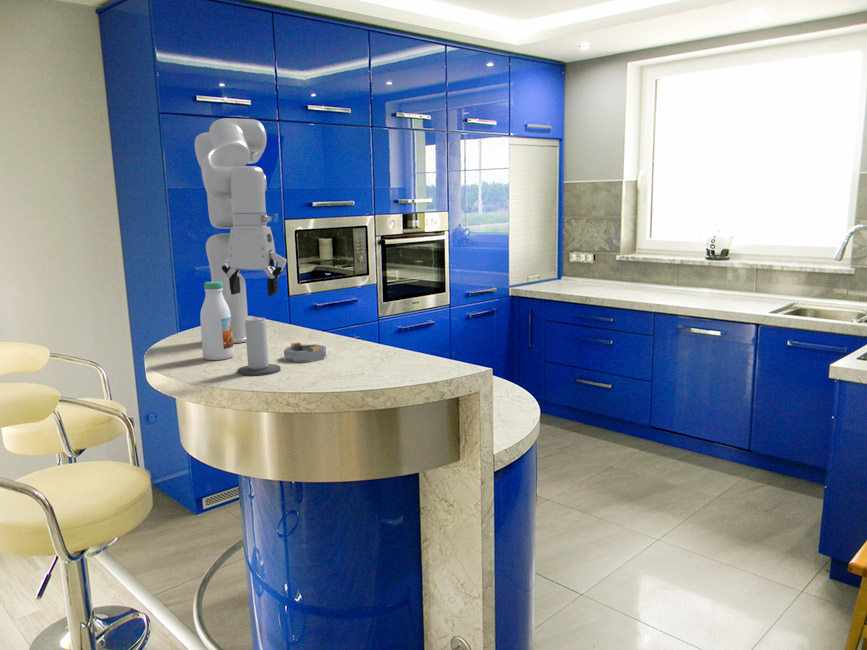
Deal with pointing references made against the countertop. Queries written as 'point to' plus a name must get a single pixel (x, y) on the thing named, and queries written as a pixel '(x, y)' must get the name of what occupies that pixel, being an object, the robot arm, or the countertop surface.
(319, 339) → the countertop surface
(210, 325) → the milk bottle
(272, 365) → the slate coaster
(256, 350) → the beverage can
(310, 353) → the ring
